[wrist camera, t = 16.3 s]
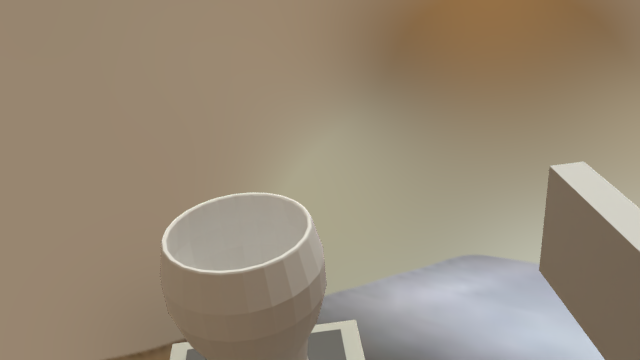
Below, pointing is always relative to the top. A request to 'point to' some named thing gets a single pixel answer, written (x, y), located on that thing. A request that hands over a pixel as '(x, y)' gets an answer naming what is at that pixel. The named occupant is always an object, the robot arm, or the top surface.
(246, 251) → the cup
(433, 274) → the top surface
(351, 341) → the stand
